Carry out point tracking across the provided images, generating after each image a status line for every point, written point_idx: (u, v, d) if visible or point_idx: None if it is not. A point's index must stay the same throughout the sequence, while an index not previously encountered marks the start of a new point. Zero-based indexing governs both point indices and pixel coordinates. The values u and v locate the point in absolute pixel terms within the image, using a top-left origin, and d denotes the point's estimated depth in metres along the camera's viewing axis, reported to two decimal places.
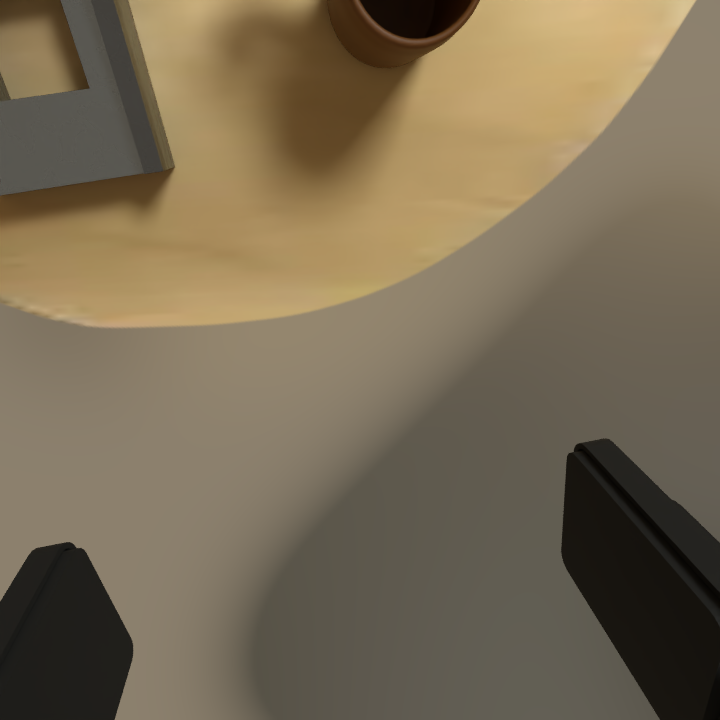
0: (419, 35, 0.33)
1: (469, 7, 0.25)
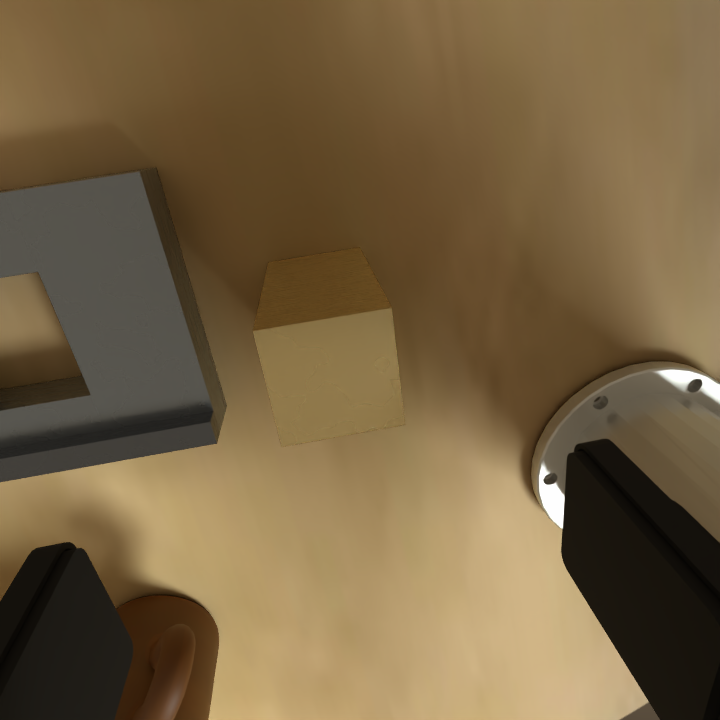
0: None
1: None
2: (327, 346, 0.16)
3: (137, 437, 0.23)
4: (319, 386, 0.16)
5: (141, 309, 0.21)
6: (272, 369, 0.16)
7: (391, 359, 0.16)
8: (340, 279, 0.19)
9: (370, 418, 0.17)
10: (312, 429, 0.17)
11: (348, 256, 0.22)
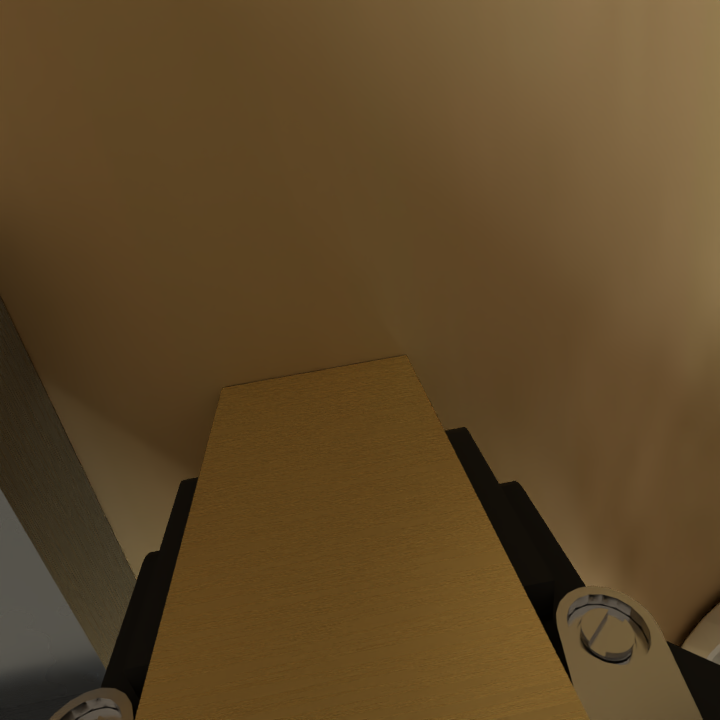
0: None
1: None
2: None
3: None
4: None
5: None
6: None
7: None
8: (387, 507, 0.07)
9: None
10: None
11: (389, 389, 0.10)
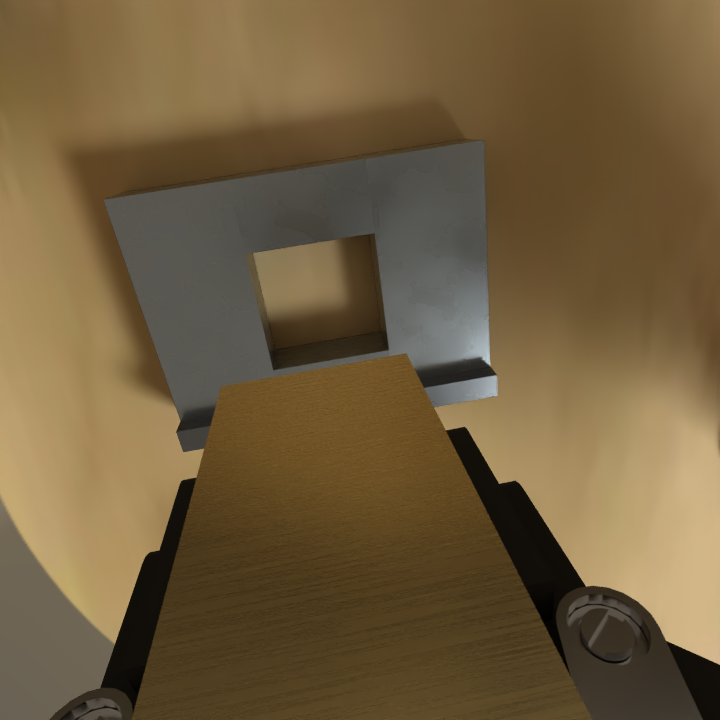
0: None
1: None
2: None
3: (431, 389, 0.25)
4: None
5: (452, 269, 0.23)
6: None
7: None
8: (387, 506, 0.07)
9: None
10: None
11: (389, 387, 0.10)
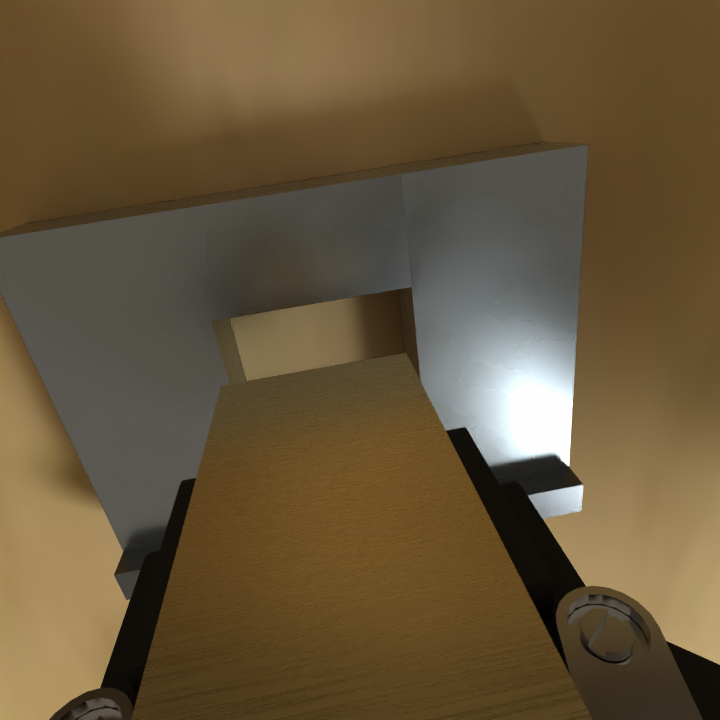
0: None
1: None
2: None
3: None
4: None
5: (525, 337, 0.15)
6: None
7: None
8: (387, 506, 0.07)
9: None
10: None
11: (388, 386, 0.10)
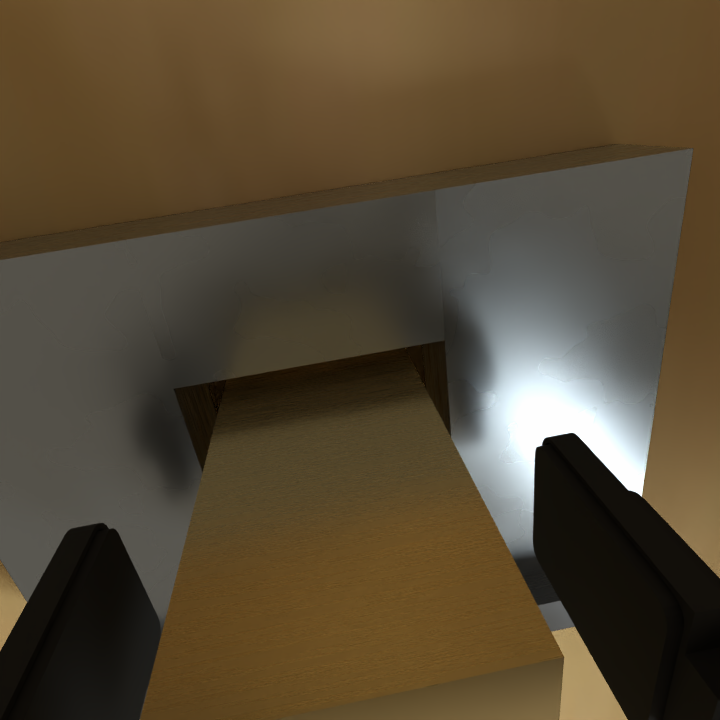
0: None
1: None
2: None
3: None
4: None
5: (590, 401, 0.12)
6: None
7: None
8: (375, 448, 0.09)
9: None
10: None
11: (379, 358, 0.12)
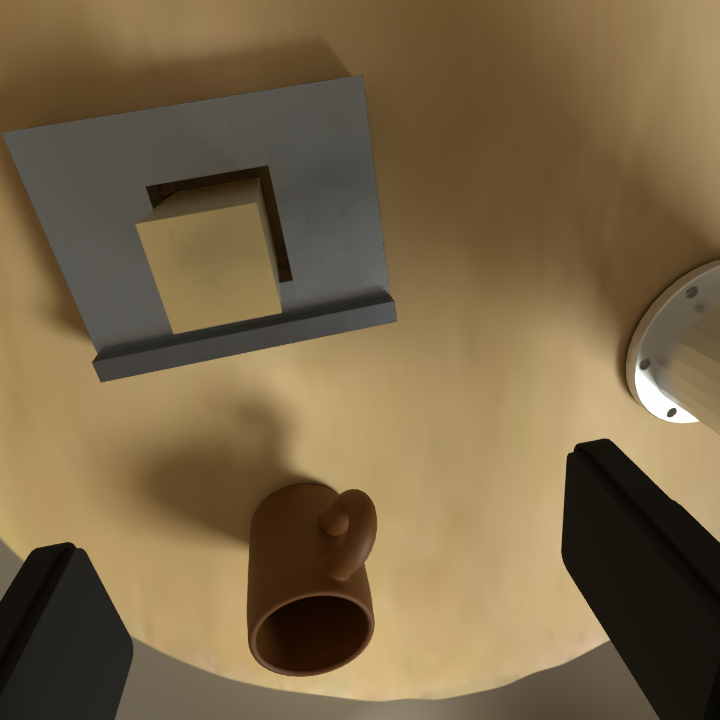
0: None
1: (284, 671, 0.30)
2: (203, 238, 0.18)
3: (334, 316, 0.27)
4: (200, 276, 0.19)
5: (345, 200, 0.25)
6: (156, 260, 0.19)
7: (262, 250, 0.19)
8: (227, 194, 0.22)
9: (250, 307, 0.20)
10: (199, 317, 0.20)
11: (245, 182, 0.25)
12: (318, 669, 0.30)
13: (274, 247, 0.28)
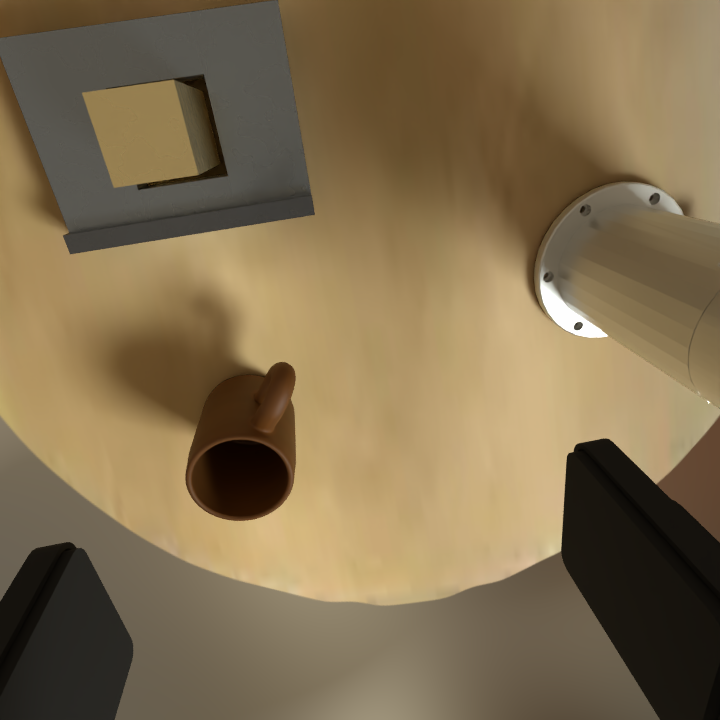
0: None
1: (217, 513, 0.35)
2: (134, 107, 0.24)
3: (261, 206, 0.32)
4: (133, 139, 0.25)
5: (268, 107, 0.31)
6: (99, 123, 0.24)
7: (180, 120, 0.25)
8: None
9: (173, 168, 0.26)
10: (133, 174, 0.26)
11: None
12: (247, 515, 0.36)
13: (217, 152, 0.33)
